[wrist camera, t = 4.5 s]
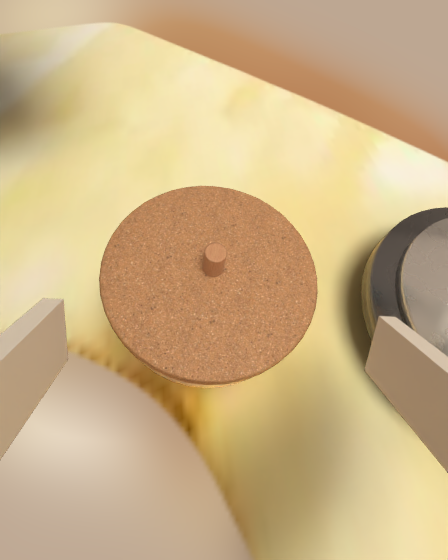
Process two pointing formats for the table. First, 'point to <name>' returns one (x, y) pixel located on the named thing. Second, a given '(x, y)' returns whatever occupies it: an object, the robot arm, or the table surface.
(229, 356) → the lidded jar
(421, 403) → the robot arm
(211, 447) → the table surface
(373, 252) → the base
